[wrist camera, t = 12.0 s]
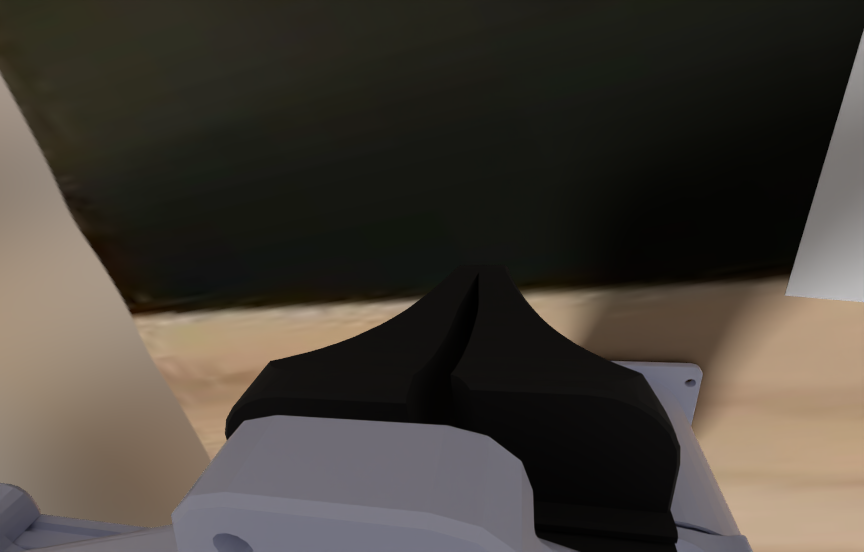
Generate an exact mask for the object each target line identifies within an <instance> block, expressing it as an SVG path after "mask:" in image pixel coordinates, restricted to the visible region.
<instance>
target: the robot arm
mask: <svg viewBox="0 0 864 552" xmlns="http://www.w3.org/2000/svg"><path fill="white" fill-rule="evenodd" d="M702 376H703V373H702V371H701V369H700V367H699V366H698V365H696V364H693V363H665V362H630V361H608V360H606V359H604V358H602V357H600V356H598V355H596V354H594V353H592V352H590V351H588V350H586V349H584V348H582V347H580V346H579V345H577V344H575V343H574V342H572V341H570V340H569V339H567V338H566V337H565V336H563V335H562V334H560V333H559V332H557V331H556V330H555V329H553V328H552V327H551V326H550V325H548V324H547V323H546V322H545V321H544V320H543V319H542V318H541V317H540V316H539V315H538V314H537V313H536V312H535V310H534V309H533V308H532V307H531V306H530V305H529V303H528V302H527V301H526V300H525V298H524V297H523V295H522V294H521V293H520V291H519V290H518V288H517V286H516V285H515V283H514V281H513V279H512V277H511V275H510V273H509V268H508V267H506V266H505V265H460V266H459V267H457V268H456V269H455V270H454V271H453V272H452V273H451V274H450V275H449V276H448V277H446V278H445V279H444V280H443V281H442V282H441V283H440V284H439V285H437V286H436V287H435V288H434V289H433V290H432V291H431V292H429V293H428V294H427V295H425V296H424V297H423V298H421V299H420V300H419V301H417V302H416V303H415V304H413V305H412V306H411V307H409V308H408V309H406V310H405V311H403V312H402V313H400V314H399V315H397V316H395V317H393V318H392V319H390V320H388V321H387V322H385V323H383V324H381V325H379V326H377V327H375V328H372V329H370V330H368V331H366V332H364V333H362V334H359V335H357V336H355V337H353V338H350V339H347V340H345V341H342V342H339V343H337V344H333V345H330V346H327V347H324V348H321V349H318V350H314V351H311V352H307V353H303V354H299V355H295V356H291V357H287V358H283V359H278V360H273V361H270V362H269V363H268V364H267V366H266V367H265V368H264V369H263V370H262V372H261V373H260V374H259V375H258V377H257V378H256V379H255V380H254V382H253V383H252V384H251V385H250V387H249V388H248V389H247V390H246V391H245V393H244V394H243V395H242V396H241V398H240V399H239V400H238V401H237V403H236V404H235V405H234V406H233V408H232V410H231V411H230V413H229V415H228V417H227V419H226V428H225V435H226V439H227V441H226V443H225V444H224V445H223V446H222V448H221V449H220V450H219V452H218V453H217V454H216V456H215V457H214V458H213V460H212V461H211V462H210V464H209V465H208V466H207V468H206V469H205V470H204V472H203V473H202V474H201V476H200V477H199V478H198V480H197V481H196V482H195V484H194V485H193V486H192V488H191V489H190V490H189V492H188V493H187V494H186V496H185V497H184V498H183V500H182V501H181V502H180V504H179V505H178V506H177V508H176V509H175V510H174V512H173V513H172V514H171V516H172V522H173V524H171V525H165V526H160V527H154V528H148V527H140V526H132V525H124V524H115V523H108V522H100V521H92V520H84V519H76V518H67V517H60V516H53V515H45V514H41V512H40V508H39V507H38V505H37V503H36V502H35V500H34V499H33V498H32V497H31V496H30V495H29V494H28V493H27V492H26V491H25V490H23V489H21V488H20V487H18V486H15V485H12V484H5V483H0V552H753V551H752V549H751V547H750V545H749V542H748V540H747V538H746V537H745V536H744V535H741V533H740V531H739V529H738V527H737V524H736V522H735V520H734V518H733V516H732V514H731V511H730V509H729V507H728V505H727V503H726V501H725V499H724V496H723V494H722V492H721V490H720V488H719V486H718V484H717V481H716V479H715V477H714V475H713V473H712V471H711V469H710V466H709V464H708V462H707V460H706V458H705V456H704V454H703V451H702V449H701V447H700V445H699V443H698V441H697V439H696V436H695V434H694V432H693V430H692V428H691V425H692V421H693V416H694V412H695V407H696V403H697V398H698V394H699V389H700V385H701V380H702ZM688 379H693V380H692V381H690V382H686V381H687V380H688Z"/></svg>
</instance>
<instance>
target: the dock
mask: <svg viewBox="0 0 864 552" xmlns="http://www.w3.org/2000/svg"><path fill="white" fill-rule="evenodd" d="M785 296H797V297H809V298H821V299H833V300H845V301H857V302H864V30H863V34H862V37H861V41H860V44H859V47H858V51H857V54H856V57H855V61H854V64H853V67H852V71H851V74H850V77H849V81H848V84H847V88H846V91H845V94H844V98H843V101H842V104H841V108H840V111H839V114H838V118H837V121H836V124H835V128H834V131H833V135H832V138H831V141H830V145H829V148H828V151H827V155H826V158H825V161H824V165H823V168H822V171H821V175H820V178H819V182H818V185H817V188H816V192H815V195H814V198H813V202H812V205H811V208H810V212H809V215H808V218H807V222H806V225H805V229H804V232H803V235H802V239H801V242H800V245H799V249H798V252H797V255H796V259H795V262H794V266H793V269H792V272H791V276H790V279H789V282H788V286H787V289H786V292H785Z"/></svg>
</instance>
